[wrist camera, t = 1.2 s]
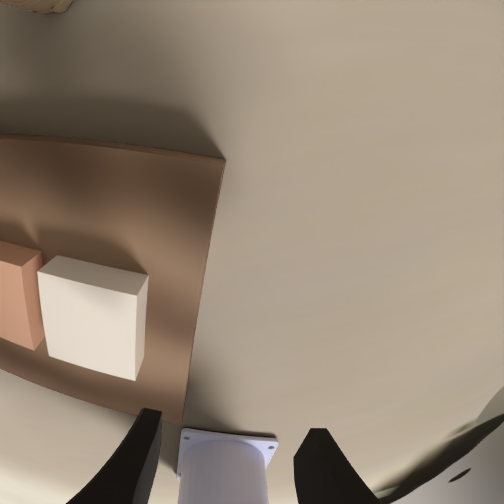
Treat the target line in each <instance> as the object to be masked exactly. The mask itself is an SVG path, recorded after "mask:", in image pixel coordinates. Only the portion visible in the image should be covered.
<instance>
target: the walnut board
mask: <svg viewBox="0 0 504 504" xmlns="http://www.w3.org/2000/svg"><path fill="white" fill-rule="evenodd" d="M225 163H226V160H224V159H219V158H213V157H208V156H202V155H196V154H191V153H185V152H179V151H172V150H166V149H159V148H153V147H146V146H138V145H131V144H123V143H115V142H106V141H97V140H87V139H76V138H65V137H52V136H37V135H17V134H0V241H3V242H7V243H11V244H15V245H19V246H23V247H27V248H31V249H35V250H39V251H42V263H43V266H44V265H46V264H47V263H48V262H49V261H50V260H52V259H53V258H54V257H55V256H57V255H59V256H64V257H68V258H72V259H77V260H81V261H85V262H90V263H94V264H99V265H103V266H108V267H112V268H117V269H122V270H126V271H131V272H136V273H141V274H145V275H149V278H148V291H147V305H146V322H145V344H144V358H143V361H142V364H141V367H140V369H139V372H138V375H137V378H136V381H133V380H129V379H125V378H121V377H117V376H113V375H110V374H106V373H102V372H99V371H95V370H92V369H88V368H85V367H82V366H78V365H75V364H72V363H69V362H66V361H63V360H60V359H57V358H54V357H51V356H49V353H48V348H47V343H46V337H44V338H43V340H42V341H41V342H40V344H39V345H38V346H37V348H36V349H35V350H31V349H29V348H26V347H23V346H21V345H18V344H16V343H13V342H11V341H8V340H6V339H4V338H1V337H0V369H3V370H5V371H7V372H9V373H12V374H14V375H16V376H18V377H21V378H23V379H26V380H28V381H30V382H33V383H35V384H38V385H41V386H43V387H46V388H48V389H51V390H54V391H57V392H59V393H62V394H65V395H68V396H71V397H74V398H77V399H80V400H83V401H86V402H90V403H93V404H96V405H100V406H103V407H107V408H110V409H114V410H118V411H122V412H125V413H129V414H133V415H139V413H140V411H141V409H142V408H144V407H145V408H149V409H154V410H158V411H162V421H165V422H170V423H176V424H182V417H183V411H184V404H185V398H186V391H187V384H188V377H189V369H190V362H191V355H192V349H193V342H194V335H195V329H196V322H197V316H198V310H199V304H200V297H201V291H202V285H203V280H204V274H205V268H206V262H207V257H208V251H209V246H210V240H211V235H212V229H213V224H214V219H215V213H216V208H217V203H218V198H219V193H220V188H221V183H222V178H223V173H224V168H225Z"/></svg>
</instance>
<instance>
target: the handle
mask: <svg viewBox="0 0 504 504" xmlns="http://www.w3.org/2000/svg"><path fill="white" fill-rule="evenodd" d="M73 1H74V0H0V2H2V3H5V4H8V5H11V6H15V7H18V8H22V9H25V10H32V11H33V12H35V13H39V14H44V15H46V14H48V13H50V12H57V13H62V12H64V11H65V10H67V9H68V6H69V5H70V4H71V3H72V2H73Z"/></svg>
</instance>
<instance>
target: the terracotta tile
mask: <svg viewBox="0 0 504 504" xmlns="http://www.w3.org/2000/svg"><path fill="white" fill-rule="evenodd" d="M42 267H43V263H42V251H39V250H35V249H31V248H27V247H23V246H19V245H15V244H11V243H7V242H3V241H0V337H1V338H4V339H6V340H8V341H11V342H13V343H16V344H18V345H21V346H23V347H26V348H29V349H31V350H35V349H36V348H37V346H38V345H39V344H40V342H41V341H42V340H43V338H44V337H45V331H44V325H43V318H42V311H41V303H40V294H39V285H38V273H37V271H38V270H40V269H41V268H42Z"/></svg>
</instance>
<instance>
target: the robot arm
mask: <svg viewBox="0 0 504 504" xmlns="http://www.w3.org/2000/svg"><path fill="white" fill-rule="evenodd" d="M161 428H162V411H158V410H154V409H149V408H145V407H144V408H142V409H141V411H140V413H139V415H138V417H137V419H136V420H135V422H134V424H133V426H132V427H131V429H130V430H129V432H128V434H127V435H126V437H125V438H124V440H123V441H122V442H121V444H120V445H119V447H118V448H117V449H116V451H115V452H114V454H113V455H112V456H111V457H110V459H109V460H108V461H107V462H106V463H105V465H104V466H103V467H102V468H101V469H100V471H99V472H98V473H97V474H96V475H95V476H94V477H93V478H92V480H91V481H90V482H89V483H88V484H87V485H86V486H85V487H84V488H83V489H82V490H81V491H80V492H79V493H77V494H76V495H75V496H74V497H73V498H72V499H71V500H69V501H68V502H67V503H66V504H147V503H148V500H149V496H150V492H151V488H152V485H153V481H154V477H155V473H156V470H157V465H158V459H159V452H160V446H161ZM278 444H279V442H278V439H276V438H265V437H252V436H242V435H232V434H224V433H216V432H209V431H202V430H195V429H189V428H184V429H182V431H181V439H180V447H179V457H178V466H177V476H176V478H177V479H178V480H180V487H179V496H178V504H269V501H268V490H267V478H266V467H267V465H268V463H269V462H270V460H271V458H272V456H273V454H274V452H275V450H276V448H277V446H278ZM293 458H294V481H295V487H296V493H297V498H298V503H299V504H383V503H382V502H381V501H380V500H379V499H378V498H377V497H376V496H375V495H374V494H373V493H372V491H371V490H370V489H369V488H368V487H367V485H366V484H365V483H364V482H363V480H362V479H361V478H360V477H359V475H358V474H357V472H356V471H355V470H354V468H353V467H352V466H351V464H350V463H349V461H348V460H347V459H346V457H345V456H344V454H343V453H342V451H341V450H340V448H339V447H338V445H337V443H336V442H335V440H334V439H333V437H332V436H331V434H330V433H329V431H328V430H327V428H311V429H310V430H309V432H308V434H307V436H306V437H305V439H304V441H303V443H302V444H301V446H300V448H299V449H298V451H297V453H296V454H295V456H294V457H293Z"/></svg>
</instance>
